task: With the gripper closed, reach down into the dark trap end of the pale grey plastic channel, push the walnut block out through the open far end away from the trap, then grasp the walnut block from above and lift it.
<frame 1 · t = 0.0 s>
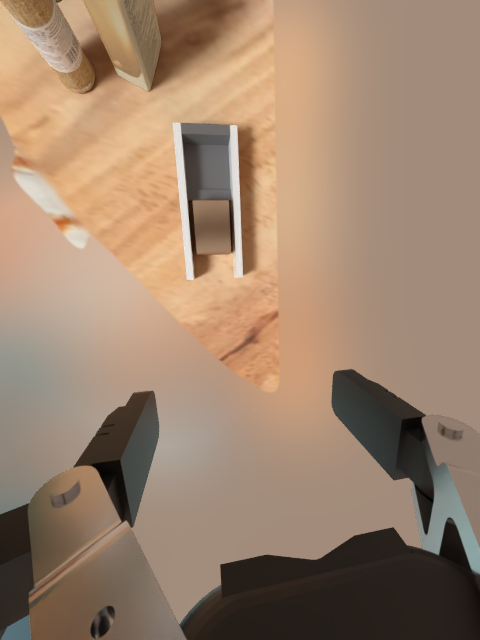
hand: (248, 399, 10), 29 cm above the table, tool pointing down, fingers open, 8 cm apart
trap channel: (210, 211, 35), on the table
sprinkles bottle: (78, 76, 29), on the table
walnut block: (211, 232, 36), on the table
skincare box: (140, 62, 30), on the table
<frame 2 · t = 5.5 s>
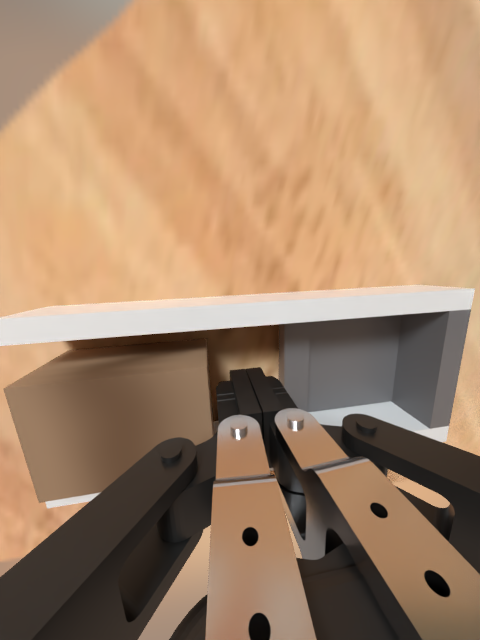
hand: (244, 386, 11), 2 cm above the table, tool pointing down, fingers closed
trap channel: (255, 366, 13), on the table
walnut block: (147, 385, 13), on the table
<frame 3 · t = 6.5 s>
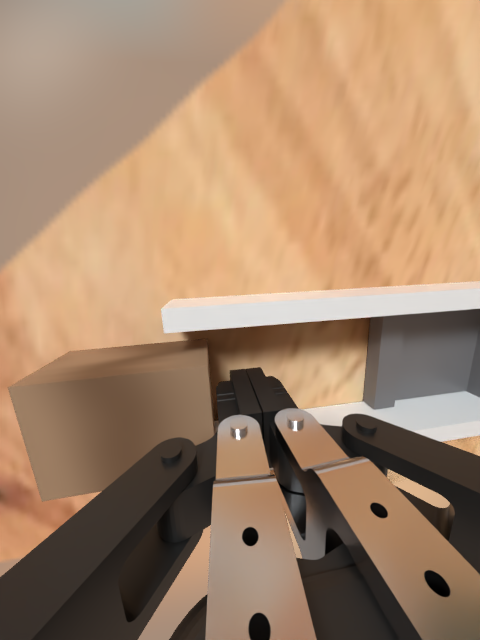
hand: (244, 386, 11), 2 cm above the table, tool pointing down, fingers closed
trap channel: (346, 357, 14), on the table
walnut block: (148, 385, 13), on the table, touching gripper
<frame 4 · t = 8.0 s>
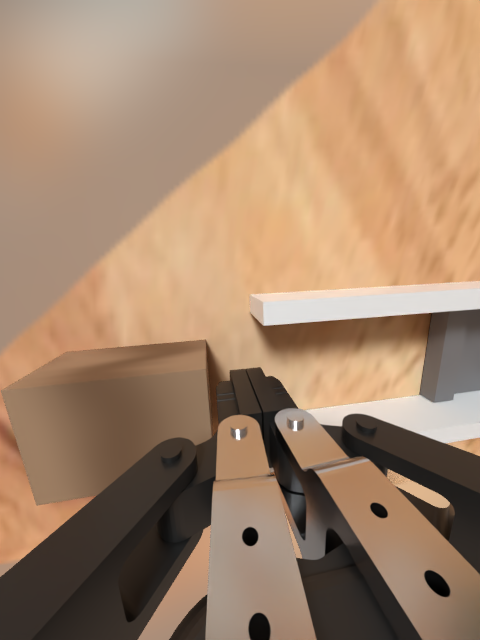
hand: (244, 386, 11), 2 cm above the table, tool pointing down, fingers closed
trap channel: (407, 351, 14), on the table
walnut block: (146, 386, 13), on the table
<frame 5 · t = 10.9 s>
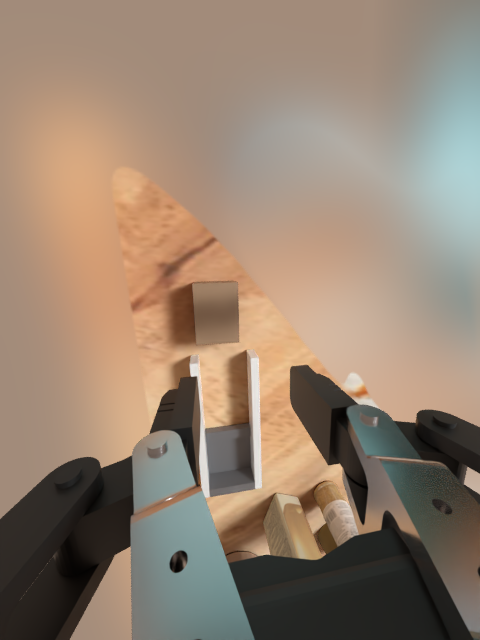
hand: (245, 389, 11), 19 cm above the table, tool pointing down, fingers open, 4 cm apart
trap channel: (227, 417, 33), on the table
sprinkles bottle: (324, 489, 39), on the table
walnut block: (215, 308, 29), on the table
skincare box: (279, 506, 38), on the table
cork: (332, 531, 41), on the table
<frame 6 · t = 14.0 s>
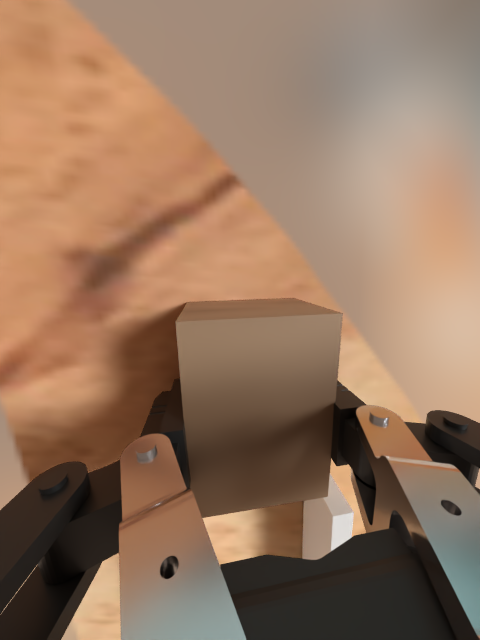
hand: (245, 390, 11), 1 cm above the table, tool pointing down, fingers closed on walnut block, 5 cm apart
trap channel: (254, 597, 15), on the table
walnut block: (243, 370, 11), on the table, touching gripper
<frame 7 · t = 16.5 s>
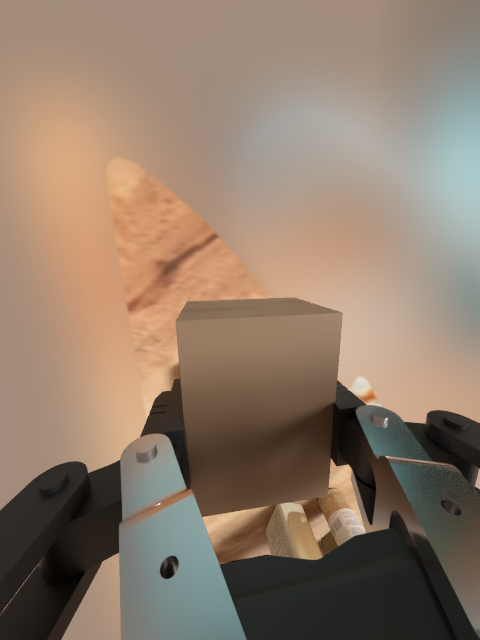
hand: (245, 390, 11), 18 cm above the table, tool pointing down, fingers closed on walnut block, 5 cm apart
sprinkles bottle: (329, 496, 37), on the table
walnut block: (243, 369, 11), point 17 cm above the table, touching gripper
skincare box: (282, 514, 37), on the table
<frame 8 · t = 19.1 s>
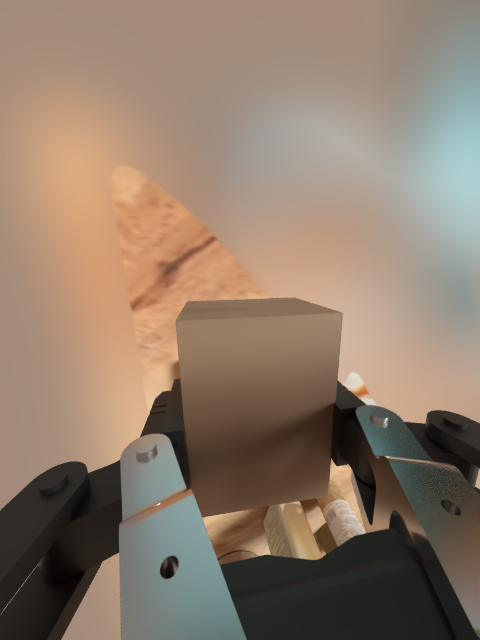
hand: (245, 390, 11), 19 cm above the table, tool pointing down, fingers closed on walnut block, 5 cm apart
sprinkles bottle: (324, 489, 39), on the table
walnut block: (243, 369, 11), point 19 cm above the table, touching gripper
skincare box: (279, 506, 38), on the table
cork: (332, 531, 41), on the table
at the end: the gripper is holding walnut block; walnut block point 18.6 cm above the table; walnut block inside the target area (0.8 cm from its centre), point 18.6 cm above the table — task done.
